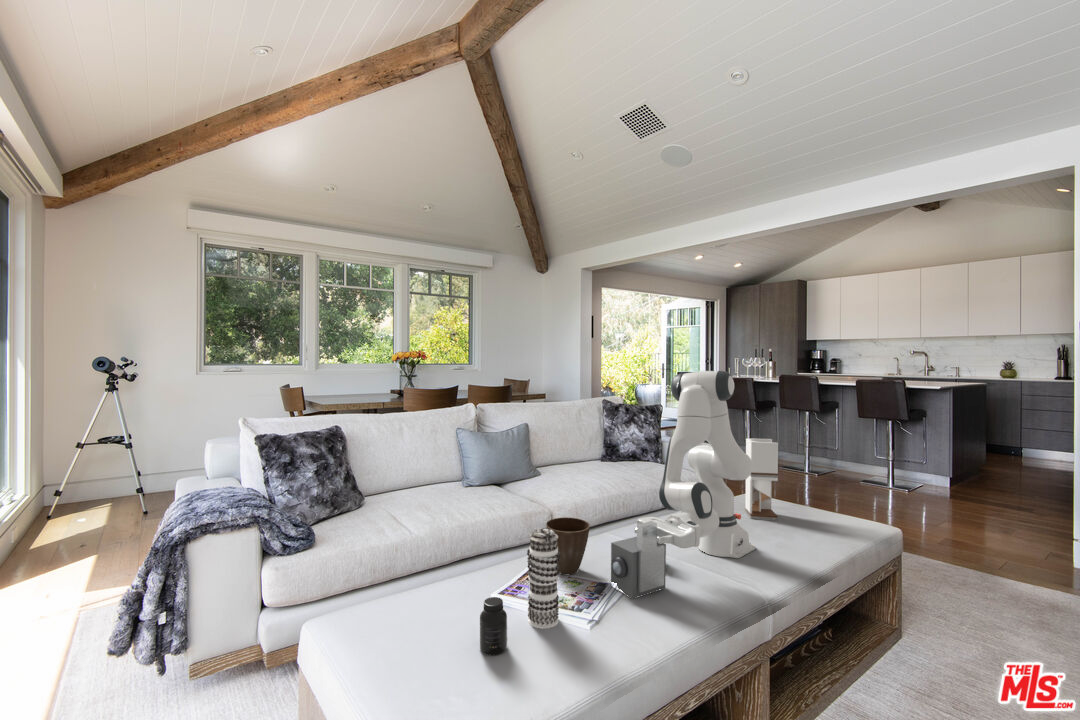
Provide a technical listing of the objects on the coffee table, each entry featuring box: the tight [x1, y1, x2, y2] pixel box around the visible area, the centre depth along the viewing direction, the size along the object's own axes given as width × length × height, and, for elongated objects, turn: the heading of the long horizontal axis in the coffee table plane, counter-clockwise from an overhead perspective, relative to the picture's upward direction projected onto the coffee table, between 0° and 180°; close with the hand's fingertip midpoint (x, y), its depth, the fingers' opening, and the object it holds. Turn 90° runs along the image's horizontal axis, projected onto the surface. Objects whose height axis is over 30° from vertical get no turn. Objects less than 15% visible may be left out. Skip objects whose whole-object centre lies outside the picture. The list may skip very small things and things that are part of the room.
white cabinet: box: [744, 438, 779, 521], centre depth 240 cm, size 11×11×35 cm
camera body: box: [610, 536, 667, 599], centre depth 164 cm, size 16×10×14 cm, turn 122°
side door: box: [636, 521, 665, 593], centre depth 160 cm, size 10×2×20 cm, turn 122°
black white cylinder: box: [526, 527, 560, 630], centre depth 144 cm, size 9×9×25 cm
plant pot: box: [545, 516, 591, 576], centre depth 177 cm, size 15×15×16 cm
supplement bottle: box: [479, 596, 508, 656], centre depth 130 cm, size 7×7×12 cm
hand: (646, 535), depth 159 cm, fingers open, 8 cm apart
